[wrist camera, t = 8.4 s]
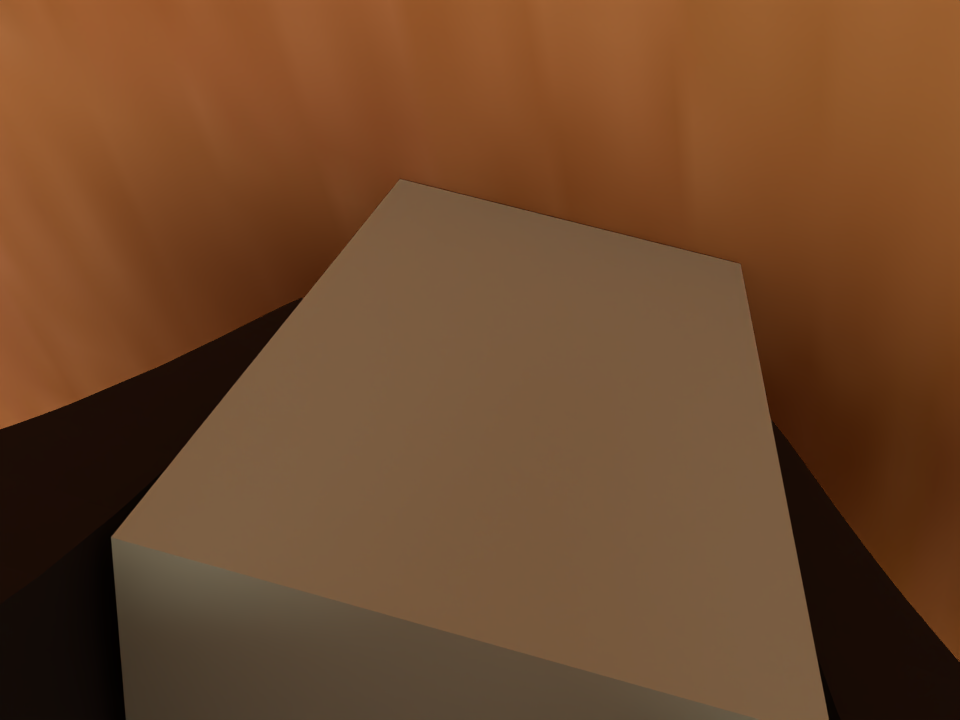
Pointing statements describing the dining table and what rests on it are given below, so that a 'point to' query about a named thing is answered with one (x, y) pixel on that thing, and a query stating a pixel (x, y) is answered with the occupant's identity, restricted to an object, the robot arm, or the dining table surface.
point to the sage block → (479, 495)
